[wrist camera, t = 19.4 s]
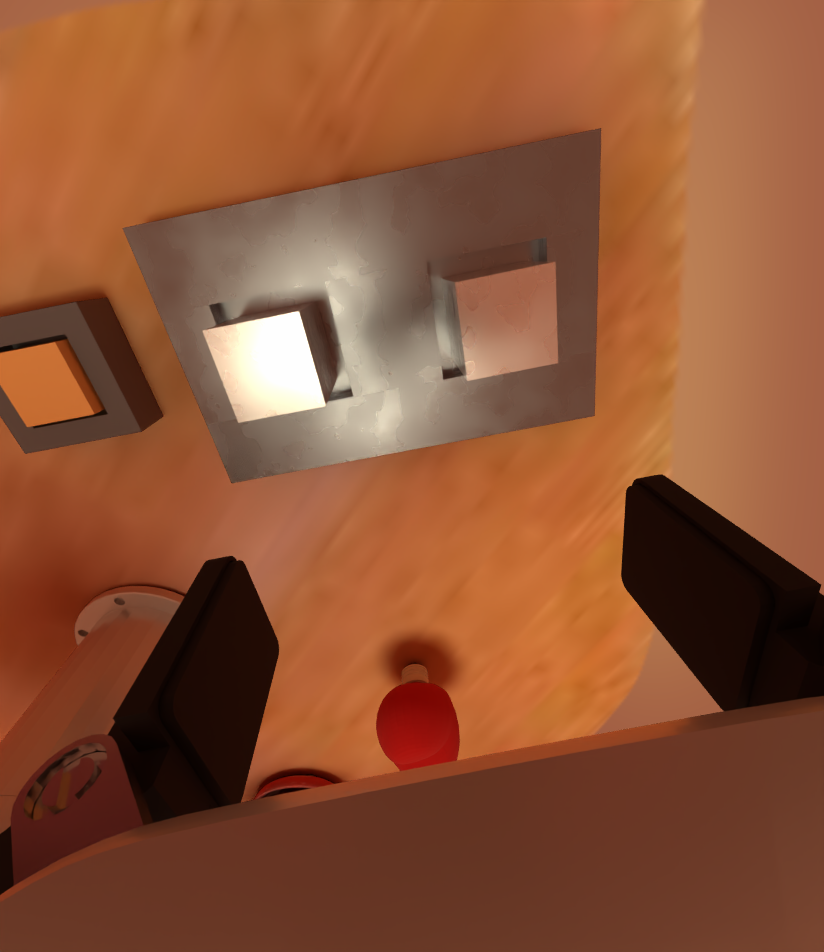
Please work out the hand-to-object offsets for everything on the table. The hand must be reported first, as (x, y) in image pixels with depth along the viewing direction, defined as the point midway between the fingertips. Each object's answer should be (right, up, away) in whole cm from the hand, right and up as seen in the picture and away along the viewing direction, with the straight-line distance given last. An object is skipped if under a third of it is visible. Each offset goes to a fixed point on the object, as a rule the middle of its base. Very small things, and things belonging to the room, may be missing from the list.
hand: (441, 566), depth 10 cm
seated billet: (-9, +11, +17) cm, 22 cm away
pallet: (-2, +12, +18) cm, 22 cm away
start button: (-23, +9, +17) cm, 30 cm away
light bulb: (-1, -17, +33) cm, 38 cm away
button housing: (-23, +9, +18) cm, 31 cm away
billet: (+4, +13, +17) cm, 22 cm away
